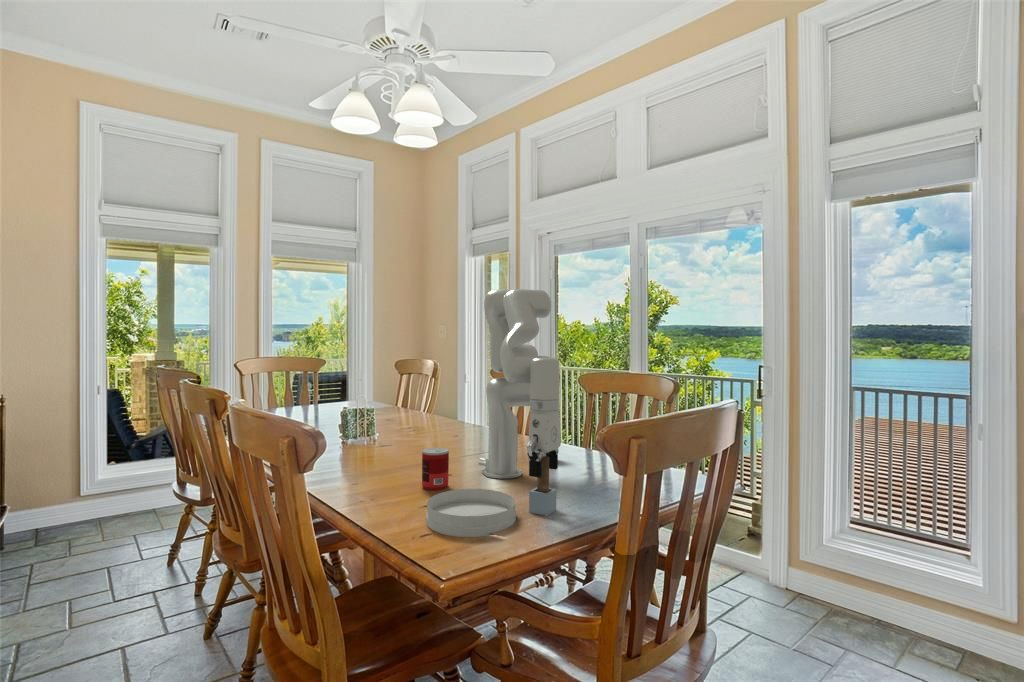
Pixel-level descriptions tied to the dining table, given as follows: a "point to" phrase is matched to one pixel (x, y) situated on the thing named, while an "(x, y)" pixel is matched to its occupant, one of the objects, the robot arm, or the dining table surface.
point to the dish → (470, 512)
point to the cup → (542, 502)
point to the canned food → (435, 468)
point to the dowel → (544, 476)
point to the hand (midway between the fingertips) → (543, 472)
